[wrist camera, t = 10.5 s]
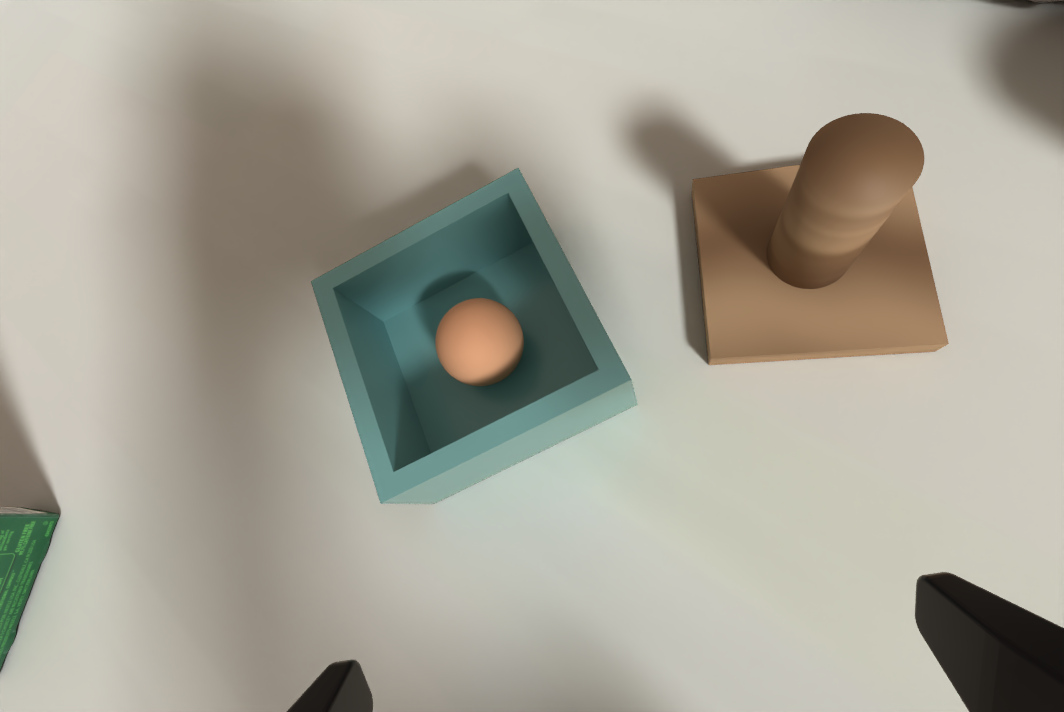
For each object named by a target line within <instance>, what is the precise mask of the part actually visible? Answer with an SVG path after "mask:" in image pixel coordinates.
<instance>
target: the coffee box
mask: <svg viewBox="0 0 1064 712" xmlns="http://www.w3.org/2000/svg"><path fill="white" fill-rule="evenodd" d="M58 518H59V514H57V513H51V512H45V511H40V510H34V509H28V508H18V507H0V670H1V667H2V664H3V661H4V659H5V657H6V654H7V652H8V651H9V649H10V647H11V645H12V644H13V642H14V638H15V636H16V627H17V625H18V623H19V620H20V617H21V614H22V612H23V609H24V606H25V604H26V602H27V599H28V597H29V594H30V591H31V588H32V585H33V583H34V580H35V577H36V575H37V572H38V570H39V567H40V564H41V562H42V561H43V560H44V558H45V555H46V553H47V550H48V548H49V544H50V538H51V536H52V533H53V531H54V528H55V525H56V523H57V520H58Z"/></svg>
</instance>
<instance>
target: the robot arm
mask: <svg viewBox="0 0 1064 712" xmlns="http://www.w3.org/2000/svg"><path fill="white" fill-rule="evenodd" d="M915 619H916V623H917V626H918V629H919V631H920V633H921V635H922V636H923V638H924V639H925V641H926V643H927V644H928V646H929V648H930V649H931V651H932V652H933V654H934V656H935V657H936V659H937V660H938V662H939V664H940V665H941V667H942V668H943V670H944V672H945V673H946V675H947V677H948V678H949V680H950V681H951V683H952V685H953V686H954V688H955V689H956V691H957V693H958V694H959V696H960V697H961V699H962V701H963V702H964V704H965V706H966V707H967V709H968V710H969V712H1064V628H1063V627H1060V626H1058V625H1056V624H1054V623H1052V622H1050V621H1048V620H1046V619H1044V618H1042V617H1040V616H1038V615H1036V614H1034V613H1032V612H1030V611H1028V610H1026V609H1024V608H1022V607H1019V606H1017V605H1015V604H1013V603H1011V602H1009V601H1007V600H1005V599H1003V598H1001V597H999V596H997V595H995V594H993V593H991V592H989V591H987V590H985V589H983V588H981V587H978V586H976V585H974V584H972V583H970V582H968V581H966V580H964V579H962V578H960V577H958V576H956V575H954V574H951V573H947V572H941V573H934V574H928V575H922V576H920V577H919V578H918V580H917V584H916V604H915ZM372 710H373V699H372V694H371V691H370V689H369V686H368V684H367V681H366V679H365V676H364V674H363V671H362V669H361V666H360V664H359V663H358V662H357V661H356V660H346V661H339V662H334V663H332V664H331V665H329V666H328V667H327V668H326V669H325V670H324V671H323V672H322V674H321V675H320V676H319V677H318V678H317V679H316V680H315V681H314V682H313V683H312V685H311V686H310V687H309V688H308V689H307V690H306V691H305V692H304V693H303V694H302V696H301V697H300V698H299V699H298V700H297V701H296V702H295V703H294V704H293V705H292V707H291V708H290V709H289V710H288V711H287V712H372Z"/></svg>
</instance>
